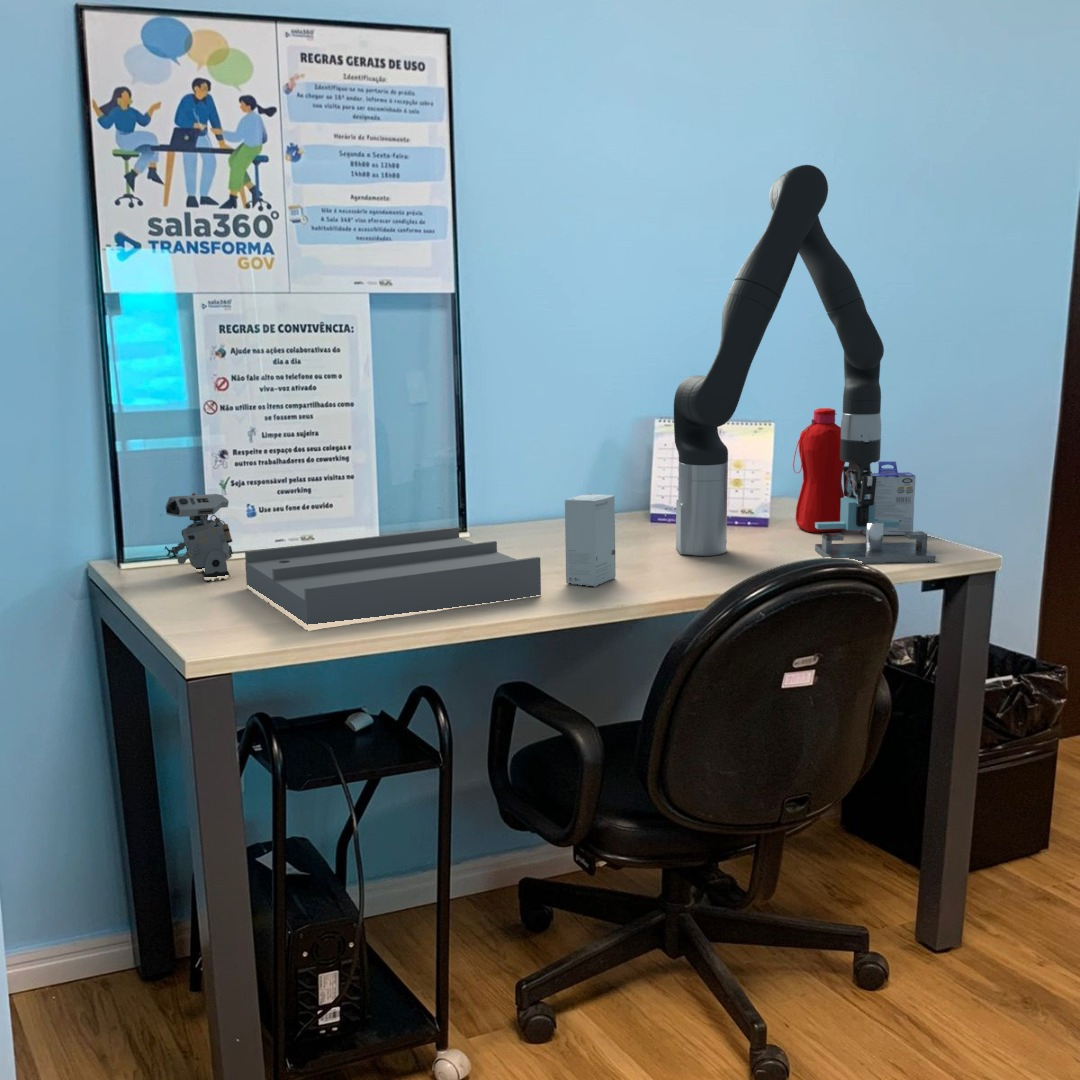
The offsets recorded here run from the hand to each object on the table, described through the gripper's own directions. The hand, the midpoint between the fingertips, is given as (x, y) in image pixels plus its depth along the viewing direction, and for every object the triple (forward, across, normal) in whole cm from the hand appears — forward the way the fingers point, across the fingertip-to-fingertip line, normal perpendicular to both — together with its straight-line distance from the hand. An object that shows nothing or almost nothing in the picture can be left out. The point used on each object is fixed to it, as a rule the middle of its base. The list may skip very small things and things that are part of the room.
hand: (857, 522), depth 240 cm
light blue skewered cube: (+1, 0, 0) cm, 1 cm away
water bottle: (+4, -15, -4) cm, 16 cm away
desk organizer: (+4, +31, -88) cm, 94 cm away
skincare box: (+4, +26, -54) cm, 60 cm away
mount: (+4, +11, 0) cm, 12 cm away
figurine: (+4, +16, -123) cm, 124 cm away
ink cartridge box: (+4, -10, +9) cm, 14 cm away
